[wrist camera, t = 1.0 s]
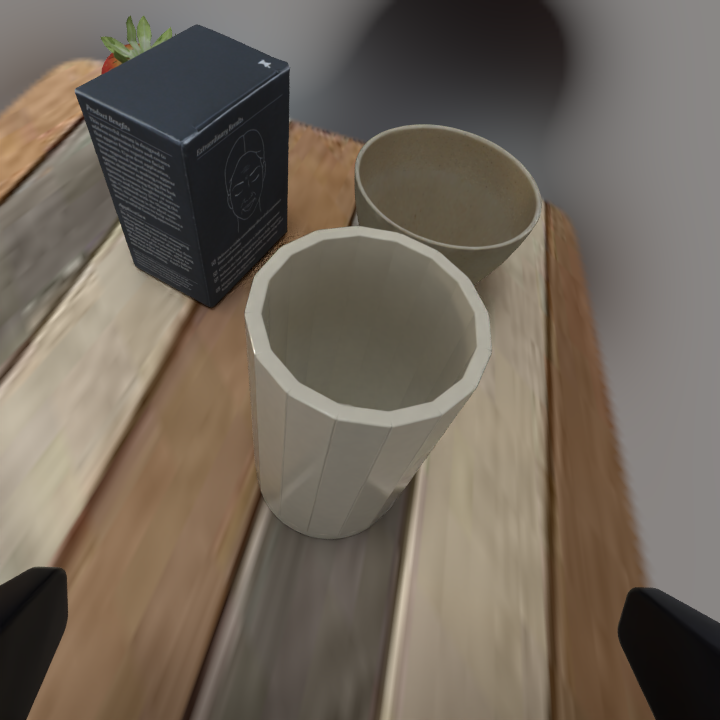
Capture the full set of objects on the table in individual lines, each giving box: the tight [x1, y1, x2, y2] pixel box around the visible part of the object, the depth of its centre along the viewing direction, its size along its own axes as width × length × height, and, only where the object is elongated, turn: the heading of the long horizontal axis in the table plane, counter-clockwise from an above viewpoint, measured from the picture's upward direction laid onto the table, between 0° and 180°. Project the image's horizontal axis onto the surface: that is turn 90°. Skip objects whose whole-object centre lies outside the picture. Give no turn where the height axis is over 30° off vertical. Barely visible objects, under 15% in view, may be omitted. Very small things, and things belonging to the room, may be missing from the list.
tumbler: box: [245, 226, 492, 539], centre depth 19 cm, size 7×7×12 cm
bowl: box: [355, 124, 542, 285], centre depth 29 cm, size 10×10×7 cm
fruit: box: [101, 16, 176, 74], centre depth 31 cm, size 5×5×8 cm
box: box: [75, 25, 290, 307], centre depth 26 cm, size 8×6×11 cm
